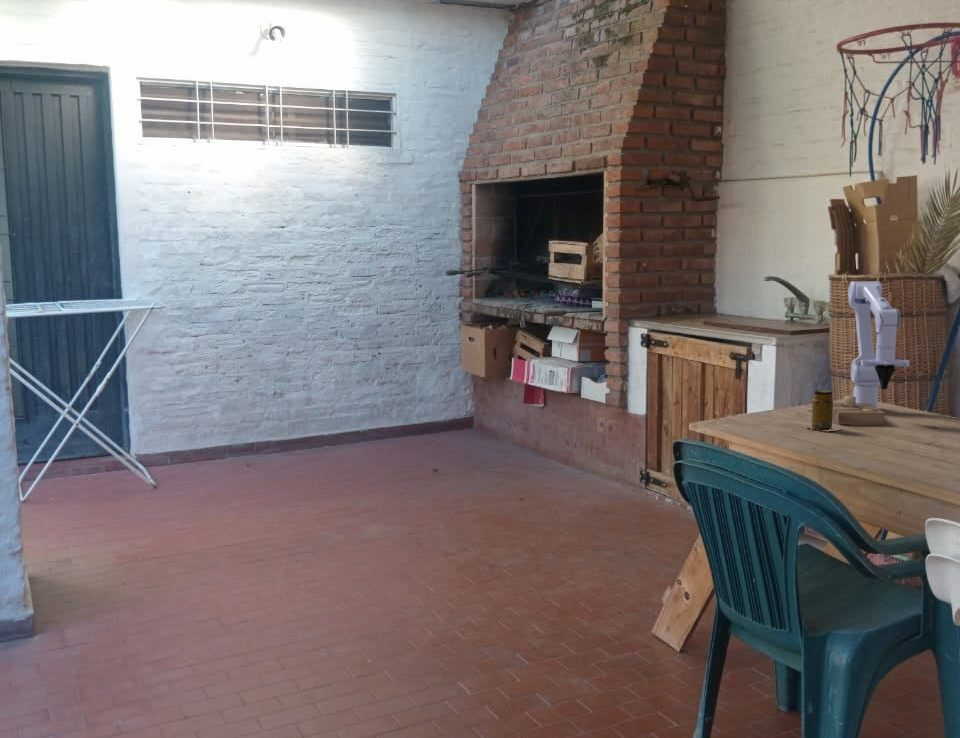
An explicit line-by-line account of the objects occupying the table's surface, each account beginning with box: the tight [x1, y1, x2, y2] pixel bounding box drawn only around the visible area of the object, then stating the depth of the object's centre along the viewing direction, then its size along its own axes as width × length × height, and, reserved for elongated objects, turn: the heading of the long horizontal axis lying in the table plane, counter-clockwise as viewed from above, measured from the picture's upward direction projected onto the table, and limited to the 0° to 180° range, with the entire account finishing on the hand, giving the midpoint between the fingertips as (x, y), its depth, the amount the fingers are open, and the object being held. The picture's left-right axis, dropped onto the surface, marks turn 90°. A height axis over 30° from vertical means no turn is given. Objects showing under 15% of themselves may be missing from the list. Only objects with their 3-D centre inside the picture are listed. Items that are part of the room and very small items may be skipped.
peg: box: [843, 395, 856, 407], centre depth 326 cm, size 4×4×4 cm
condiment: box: [811, 389, 834, 433], centre depth 309 cm, size 7×8×12 cm
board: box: [832, 402, 886, 426], centre depth 323 cm, size 16×14×4 cm
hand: (883, 388), depth 321 cm, fingers closed
